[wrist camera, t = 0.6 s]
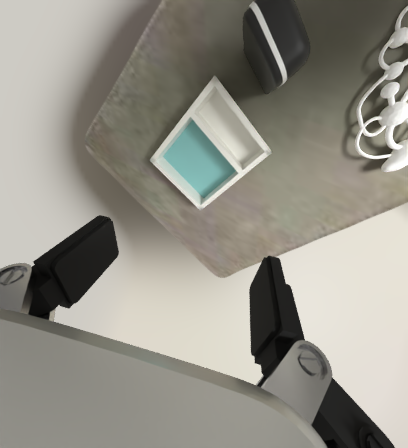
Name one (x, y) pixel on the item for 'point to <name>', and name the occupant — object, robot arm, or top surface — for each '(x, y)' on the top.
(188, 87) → the top surface
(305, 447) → the robot arm
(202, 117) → the divided compartment box
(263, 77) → the battery charger
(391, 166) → the tangled rod sculpture
